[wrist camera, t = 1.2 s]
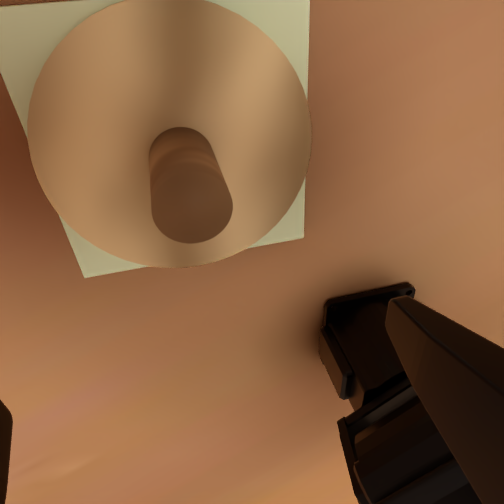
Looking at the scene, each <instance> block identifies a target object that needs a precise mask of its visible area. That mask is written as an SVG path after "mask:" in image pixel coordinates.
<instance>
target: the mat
mask: <svg viewBox="0 0 504 504" xmlns="http://www.w3.org/2000/svg"><path fill="white" fill-rule="evenodd" d="M121 1H124V0H71V1H59V2H46V3H34V4H22V5H10V6H0V73H1V75H2V77H3V80H4V82H5V85H6V87H7V90H8V92H9V95H10V97H11V99H12V102H13V104H14V107H15V109H16V112H17V114H18V117H19V119H20V122H21V124H22V126H23V129H24V131H25V134H26V136H27V139H28V132H27V120H28V112H29V103H30V100H31V96H32V92H33V89H34V85H35V82H36V80H37V78H38V76H39V74H40V72H41V70H42V67H43V65H44V63H45V62H46V60H47V59H48V58H49V56H50V55H51V53H52V52H53V50H54V49H55V47H56V46H57V45H58V44H59V43H60V42H61V41H62V40H63V39H64V38H65V37H66V36H67V35H68V33H69V32H70V31H71V30H72V29H74V28H75V27H76V26H77V25H79V24H80V23H81V22H83V21H84V20H85V19H87V18H88V17H89V16H91V15H92V14H94V13H96V12H98V11H100V10H102V9H104V8H106V7H108V6H110V5H112V4H115V3H118V2H121ZM205 1H208V2H212V3H215V4H218V5H220V6H222V7H224V8H226V9H228V10H230V11H232V12H235V13H237V14H239V15H241V16H242V17H244V18H245V19H247V20H248V21H250V22H251V23H253V24H254V25H256V26H257V27H258V28H259V29H261V30H262V31H263V32H264V33H265V34H266V35H267V36H268V37H269V38H271V39H272V40H273V41H274V42H275V44H276V45H277V46H278V47H279V48H280V50H281V51H282V52H283V53H284V54H285V56H286V57H287V59H288V60H289V62H290V63H291V65H292V67H293V68H294V70H295V71H296V73H297V76H298V78H299V80H300V82H301V84H302V87H303V89H304V92H305V95H306V99H307V91H308V53H309V14H310V0H205ZM304 208H305V178H304V181H303V184H302V187H301V189H300V191H299V193H298V195H297V197H296V199H295V200H294V202H293V204H292V205H291V207H290V208H289V210H288V211H287V213H286V214H285V215H284V216H283V217H282V219H281V220H280V221H279V222H278V223H277V225H276V226H274V227H273V228H272V229H271V230H270V231H269V232H268V233H267V234H266V235H265V236H263V237H262V238H261V239H260V240H258V241H257V242H256V243H254V244H253V245H251V246H249V247H248V248H252V247H257V246H263V245H268V244H274V243H279V242H284V241H290V240H295V239H301V238H304ZM59 217H60V219H61V222H62V224H63V227H64V229H65V232H66V234H67V236H68V239H69V241H70V244H71V246H72V249H73V251H74V254H75V256H76V259H77V261H78V263H79V266H80V268H81V271H82V273H83V276H84V278H88V277H93V276H99V275H104V274H110V273H115V272H121V271H126V270H132V269H137V268H142V267H148V266H147V265H141V264H137V263H133V262H130V261H127V260H123V259H121V258H118V257H116V256H114V255H111V254H109V253H107V252H105V251H103V250H101V249H100V248H98V247H96V246H94V245H93V244H91V243H90V242H88V241H87V240H86V239H84V238H83V237H81V236H80V235H79V234H78V233H77V232H76V231H74V230H73V229H72V228H71V227H70V226H69V225H68V224H67V223H66V222H65V221H64V220H63V219H62V217H61V216H60V215H59Z"/></svg>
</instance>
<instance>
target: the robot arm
mask: <svg viewBox="0 0 504 504" xmlns="http://www.w3.org/2000/svg"><path fill="white" fill-rule="evenodd" d="M414 294H415V288H414V287H413V286H412V285H411V284H403V285H398V286H393V287H388V288H384V289H379V290H374V291H369V292H365V293H360V294H355V295H350V296H346V297H341V298H336V299H331V300H329V301H327V302H326V304H325V306H324V319H323V327H322V328H321V330H320V337H319V355H320V357H321V361H322V363H323V364H324V365H325V368H326V370H327V372H328V374H329V376H330V378H331V380H332V383H333V385H334V387H335V389H336V391H337V393H338V396H339V397H340V398H341V399H343V400H345V399H349V401H350V403H351V405H352V407H353V409H354V411H355V412H353V413H352V414H350V415H349V416H347V417H343V418H341V419H340V420H338V421H337V424H338V428H339V432H340V439H341V443H342V447H343V451H344V455H345V459H346V463H347V467H348V471H349V475H350V478H351V482H352V486H353V490H354V494H355V496H356V498H357V500H358V503H359V504H504V348H502V347H500V346H498V345H497V344H495V343H493V342H491V341H489V340H487V339H486V338H484V337H482V336H480V335H478V334H477V333H475V332H473V331H471V330H469V329H467V328H466V327H464V326H462V325H460V324H458V323H456V322H455V321H453V320H451V319H449V318H447V317H446V316H444V315H442V314H440V313H438V312H436V311H435V310H433V309H431V308H429V307H427V306H425V305H424V304H422V303H420V302H418V301H416V300H415V299H413V298H414ZM12 426H13V419H12V415H11V413H10V411H9V410H8V408H7V407H6V406H5V405H4V403H3V402H2V401H1V400H0V504H5V499H6V493H7V484H8V473H9V461H10V449H11V438H12Z"/></svg>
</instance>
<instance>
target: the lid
mask: <svg viewBox="0 0 504 504" xmlns="http://www.w3.org/2000/svg"><path fill="white" fill-rule="evenodd" d="M27 132H28V146H29V151H30V157H31V162H32V165H33V168H34V171H35V174H36V177H37V180H38V182H39V184H40V186H41V188H42V190H43V192H44V194H45V196H46V197H47V199H48V200H49V202H50V203H51V205H52V206H53V208H54V209H55V210H56V212H57V213H58V214H59V215H60V216H61V217H62V219H63V220H64V221H65V222H66V223H67V224H68V225H69V226H70V227H71V228H72V229H73V230H74V231H76V232H77V233H78V234H79V235H80V236H81V237H83V238H84V239H86V240H87V241H88V242H90V243H91V244H93V245H94V246H96V247H98V248H100V249H101V250H103V251H105V252H107V253H109V254H111V255H114V256H116V257H118V258H121V259H123V260H127V261H130V262H133V263H137V264H141V265H147V266H152V267H162V268H187V267H194V266H201V265H205V264H209V263H214V262H217V261H220V260H222V259H225V258H228V257H230V256H233V255H235V254H237V253H239V252H241V251H243V250H245V249H246V248H248V247H249V246H251V245H253V244H254V243H256V242H257V241H258V240H260V239H261V238H262V237H263V236H265V235H266V234H267V233H268V232H269V231H270V230H271V229H272V228H273V227H274V226H276V225H277V223H278V222H279V221H280V220H281V219H282V217H283V216H284V215H285V214H286V213H287V211H288V210H289V208H290V207H291V205H292V204H293V202H294V200H295V199H296V197H297V195H298V193H299V191H300V189H301V187H302V184H303V181H304V178H305V176H306V173H307V169H308V165H309V160H310V155H311V145H312V124H311V117H310V111H309V105H308V102H307V99H306V95H305V92H304V89H303V87H302V84H301V82H300V80H299V78H298V76H297V73H296V71H295V70H294V68H293V67H292V65H291V63H290V62H289V60H288V59H287V57H286V56H285V54H284V53H283V52H282V51H281V50H280V48H279V47H278V46H277V45H276V44H275V42H274V41H273V40H272V39H271V38H269V37H268V36H267V35H266V34H265V33H264V32H263V31H262V30H261V29H259V28H258V27H257V26H256V25H254V24H253V23H251V22H250V21H248V20H247V19H245V18H244V17H242V16H241V15H239V14H237V13H235V12H232V11H230V10H228V9H226V8H224V7H222V6H220V5H218V4H215V3H212V2H208V1H205V0H124V1H121V2H118V3H115V4H112V5H110V6H108V7H106V8H104V9H102V10H100V11H98V12H96V13H94V14H92V15H91V16H89V17H88V18H87V19H85V20H84V21H83V22H81V23H80V24H79V25H77V26H76V27H75V28H74V29H72V30H71V31H70V32H69V33H68V35H67V36H66V37H65V38H64V39H63V40H62V41H61V42H60V43H59V44H58V45H57V46H56V47H55V49H54V50H53V52H52V53H51V55H50V56H49V58H48V59H47V60H46V62H45V63H44V65H43V67H42V70H41V72H40V74H39V76H38V78H37V80H36V82H35V85H34V89H33V92H32V96H31V100H30V103H29V112H28V120H27Z"/></svg>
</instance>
